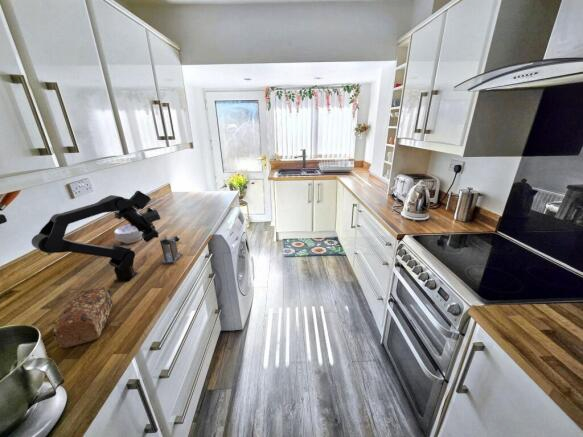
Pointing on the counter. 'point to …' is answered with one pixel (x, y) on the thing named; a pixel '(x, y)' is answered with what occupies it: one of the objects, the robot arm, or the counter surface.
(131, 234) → the paper bowls
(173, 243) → the bracket
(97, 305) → the bread
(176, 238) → the ball knob lever
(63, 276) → the counter surface
